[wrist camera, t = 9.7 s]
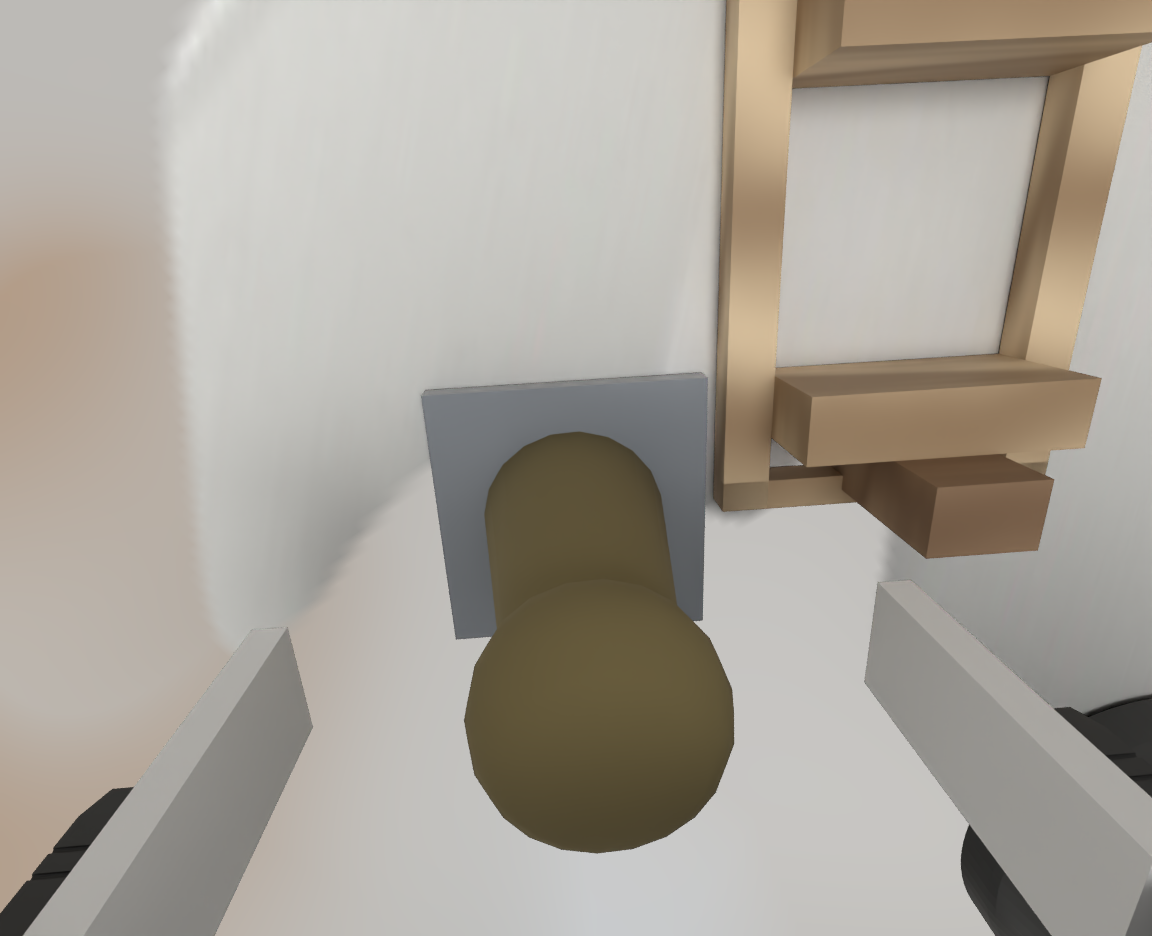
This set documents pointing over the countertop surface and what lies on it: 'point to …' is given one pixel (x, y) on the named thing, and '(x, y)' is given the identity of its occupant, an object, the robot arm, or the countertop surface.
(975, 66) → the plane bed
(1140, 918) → the robot arm
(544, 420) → the slate coaster
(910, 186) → the countertop surface
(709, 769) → the cork
